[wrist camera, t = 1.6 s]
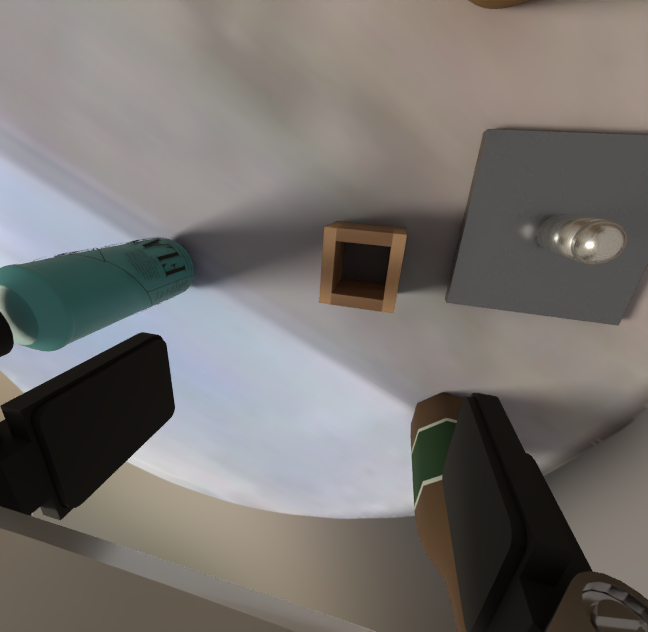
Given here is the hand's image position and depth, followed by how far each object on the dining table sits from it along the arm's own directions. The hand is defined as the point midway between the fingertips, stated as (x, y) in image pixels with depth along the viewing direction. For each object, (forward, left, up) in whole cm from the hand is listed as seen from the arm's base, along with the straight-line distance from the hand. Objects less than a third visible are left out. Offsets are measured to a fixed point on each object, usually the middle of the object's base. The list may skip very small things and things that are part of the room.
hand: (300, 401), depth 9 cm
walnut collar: (0, 0, -23) cm, 23 cm away
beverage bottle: (+3, -21, -23) cm, 31 cm away
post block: (-4, +15, -23) cm, 27 cm away
